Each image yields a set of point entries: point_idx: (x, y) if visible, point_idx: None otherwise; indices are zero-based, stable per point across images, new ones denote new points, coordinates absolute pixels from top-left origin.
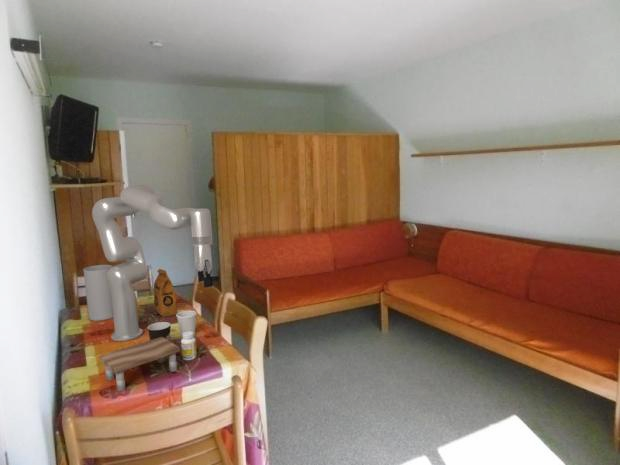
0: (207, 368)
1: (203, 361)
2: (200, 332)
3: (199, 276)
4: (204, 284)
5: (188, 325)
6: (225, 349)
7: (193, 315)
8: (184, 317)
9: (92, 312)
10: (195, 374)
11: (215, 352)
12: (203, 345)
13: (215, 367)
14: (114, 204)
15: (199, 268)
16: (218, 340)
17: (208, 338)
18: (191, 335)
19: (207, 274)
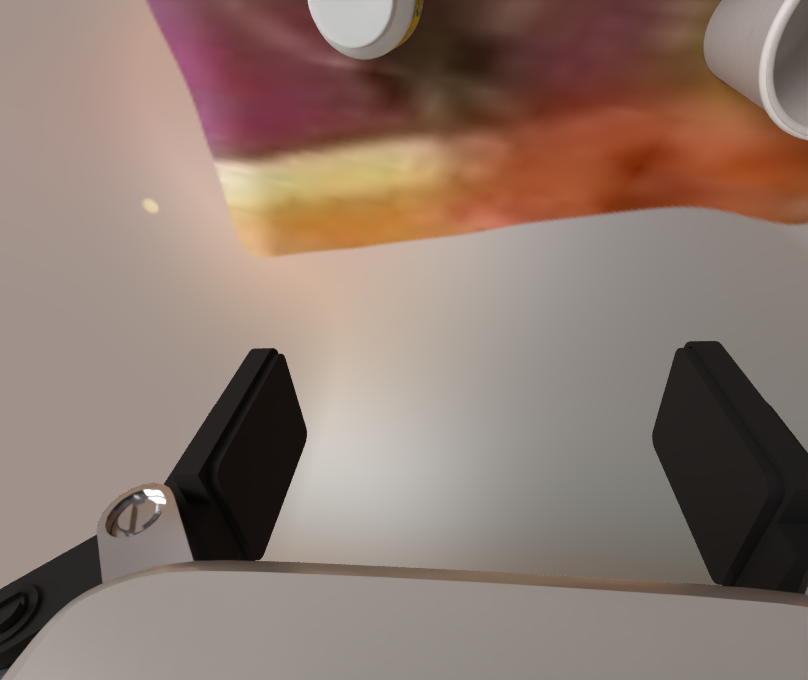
0: (215, 89)
1: (301, 80)
2: (744, 128)
3: (717, 421)
4: (240, 377)
5: (737, 38)
6: (404, 218)
7: (763, 103)
8: (784, 2)
9: None
10: (158, 11)
11: (389, 163)
12: (516, 114)
13: (218, 131)
14: None
15: (36, 677)
16: (538, 209)
17: (604, 161)
18: (318, 25)
19: (45, 577)
